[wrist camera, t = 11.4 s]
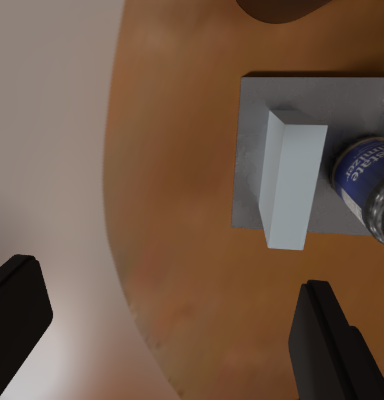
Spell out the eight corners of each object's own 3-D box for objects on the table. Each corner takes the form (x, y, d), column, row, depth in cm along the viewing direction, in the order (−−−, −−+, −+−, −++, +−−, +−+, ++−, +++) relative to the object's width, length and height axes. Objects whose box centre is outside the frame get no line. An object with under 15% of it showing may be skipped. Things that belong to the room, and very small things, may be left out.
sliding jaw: (285, 207, 27) (302, 250, 20) (258, 206, 27) (268, 247, 21) (300, 110, 23) (327, 125, 17) (269, 110, 23) (285, 124, 17)
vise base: (423, 233, 27) (493, 291, 20) (231, 222, 29) (232, 272, 22) (487, 77, 21) (619, 80, 14) (241, 77, 23) (246, 79, 16)
